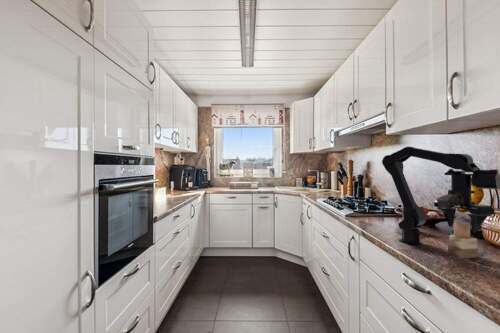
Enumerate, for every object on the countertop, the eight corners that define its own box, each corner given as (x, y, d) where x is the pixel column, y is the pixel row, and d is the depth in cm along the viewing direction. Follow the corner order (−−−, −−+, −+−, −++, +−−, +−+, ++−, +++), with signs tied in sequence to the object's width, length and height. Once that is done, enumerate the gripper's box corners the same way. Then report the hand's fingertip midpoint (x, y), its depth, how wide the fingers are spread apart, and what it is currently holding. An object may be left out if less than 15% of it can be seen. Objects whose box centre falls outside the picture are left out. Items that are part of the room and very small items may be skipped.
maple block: (449, 244, 95) (449, 235, 95) (462, 243, 96) (462, 234, 96) (463, 249, 90) (463, 239, 90) (477, 248, 90) (477, 238, 90)
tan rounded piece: (450, 235, 95) (450, 222, 95) (461, 234, 96) (461, 221, 96) (461, 238, 90) (461, 224, 91) (473, 237, 91) (473, 224, 91)
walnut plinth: (448, 253, 96) (447, 244, 96) (462, 252, 96) (461, 243, 96) (463, 258, 90) (463, 249, 90) (478, 257, 90) (477, 248, 90)
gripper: (421, 186, 101) (422, 224, 102) (465, 190, 83) (466, 237, 83) (446, 185, 103) (447, 223, 103) (495, 189, 84) (496, 236, 84)
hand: (461, 229), depth 93 cm, fingers open, 9 cm apart
